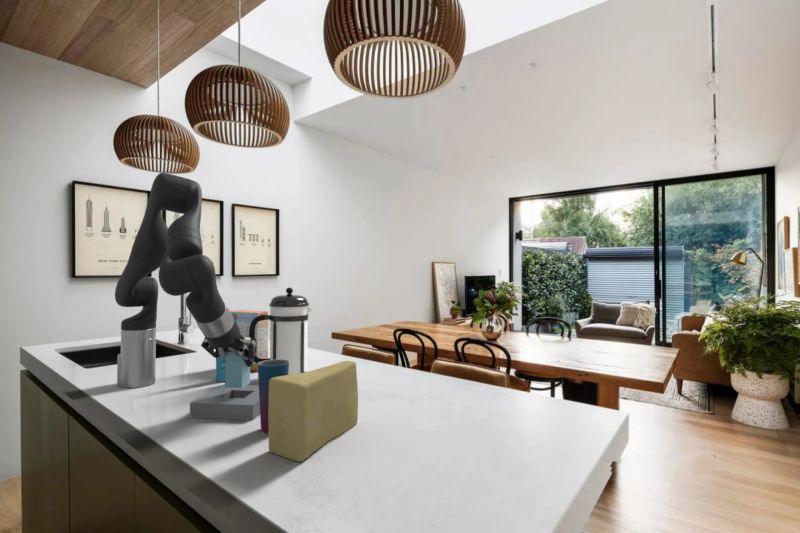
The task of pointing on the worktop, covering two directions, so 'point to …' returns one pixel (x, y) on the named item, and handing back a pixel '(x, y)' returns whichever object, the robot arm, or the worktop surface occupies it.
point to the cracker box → (260, 331)
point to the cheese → (311, 409)
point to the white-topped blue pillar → (236, 370)
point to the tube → (220, 368)
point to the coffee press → (287, 330)
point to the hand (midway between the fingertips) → (241, 363)
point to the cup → (265, 373)
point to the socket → (228, 403)
